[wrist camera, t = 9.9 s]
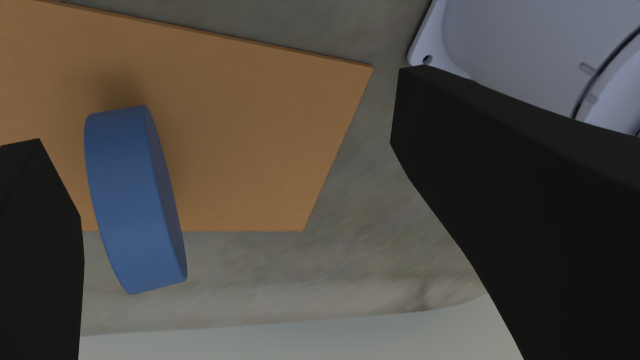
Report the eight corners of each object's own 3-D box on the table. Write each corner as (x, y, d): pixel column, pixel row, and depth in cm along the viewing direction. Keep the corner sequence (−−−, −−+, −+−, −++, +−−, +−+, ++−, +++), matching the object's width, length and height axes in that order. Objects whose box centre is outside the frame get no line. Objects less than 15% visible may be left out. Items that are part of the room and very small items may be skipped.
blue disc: (139, 70, 18) (154, 190, 13) (175, 194, 23) (195, 314, 18) (85, 78, 17) (79, 205, 13) (133, 203, 22) (142, 329, 17)
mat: (371, 64, 22) (374, 68, 22) (301, 226, 28) (303, 231, 28) (-225, -57, 13) (-233, -53, 12) (-138, 224, 19) (-142, 231, 18)
